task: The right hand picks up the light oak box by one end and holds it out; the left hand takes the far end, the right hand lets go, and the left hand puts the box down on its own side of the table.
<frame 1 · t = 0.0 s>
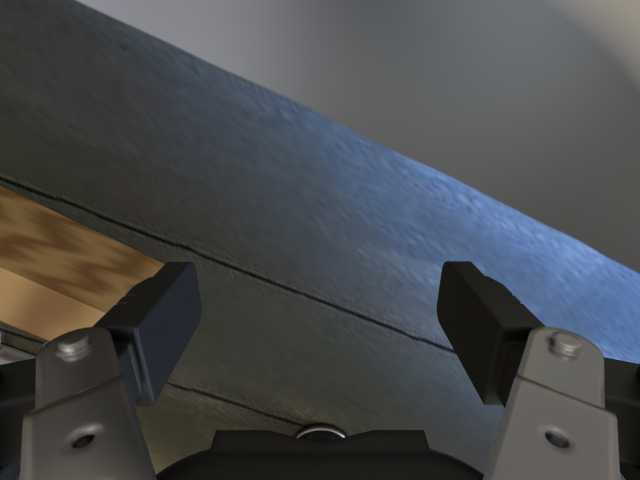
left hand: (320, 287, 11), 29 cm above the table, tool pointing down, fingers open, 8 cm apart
clamp: (26, 355, 48), on the table
box: (69, 241, 42), on the table
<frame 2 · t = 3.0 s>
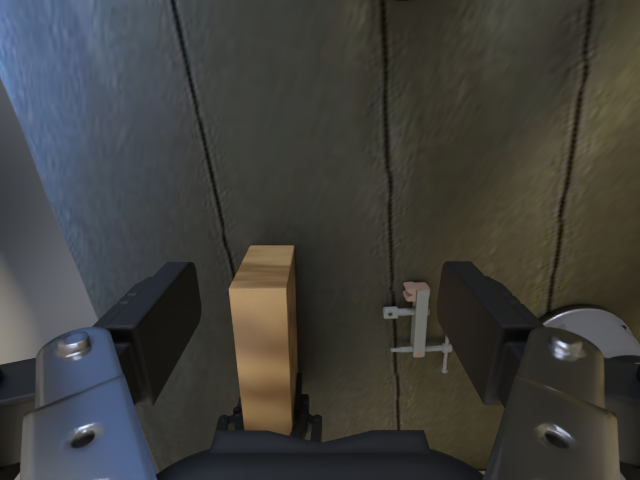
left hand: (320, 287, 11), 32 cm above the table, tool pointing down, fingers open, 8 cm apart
clamp: (415, 325, 50), on the table
box: (276, 322, 50), on the table, touching right hand
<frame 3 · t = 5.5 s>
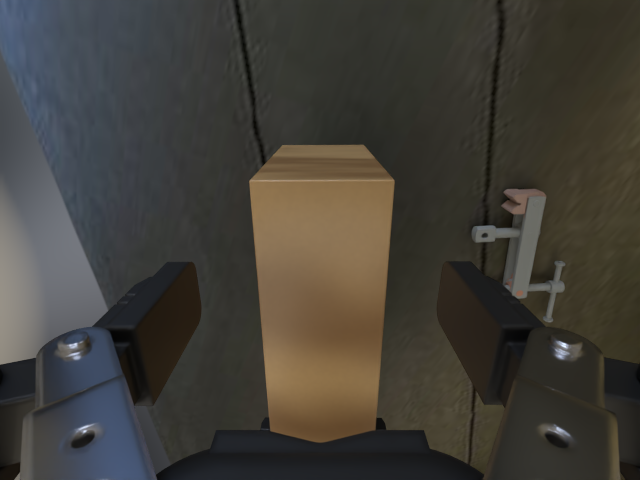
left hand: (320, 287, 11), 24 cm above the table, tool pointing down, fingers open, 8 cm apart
clamp: (512, 256, 37), on the table
box: (323, 292, 29), point 8 cm above the table, touching right hand
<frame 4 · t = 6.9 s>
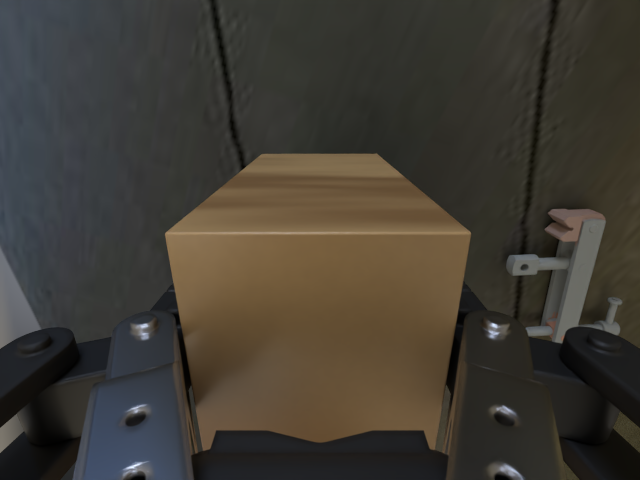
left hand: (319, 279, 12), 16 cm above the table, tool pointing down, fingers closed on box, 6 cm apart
clamp: (554, 290, 30), on the table
box: (319, 349, 22), point 8 cm above the table, touching left hand, right hand
when the right hand's fingers open (10 cm above the table, at t = 7.9 s): box stays where it is, held by the left hand.
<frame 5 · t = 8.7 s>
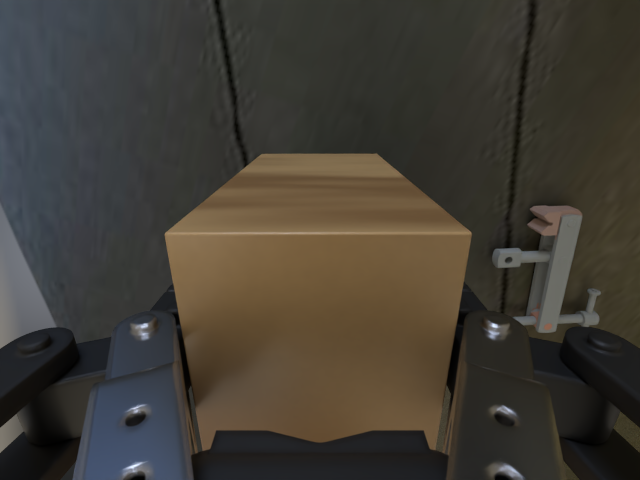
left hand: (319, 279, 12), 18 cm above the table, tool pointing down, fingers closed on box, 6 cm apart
clamp: (537, 282, 32), on the table
box: (319, 350, 22), point 10 cm above the table, touching left hand
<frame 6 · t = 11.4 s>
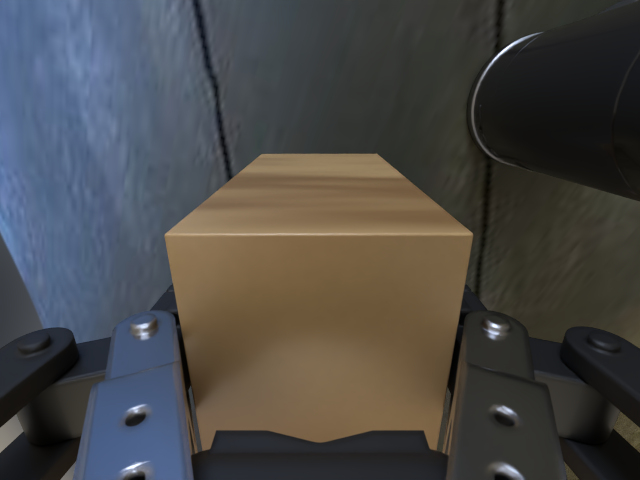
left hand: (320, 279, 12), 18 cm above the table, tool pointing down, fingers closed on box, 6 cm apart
box: (319, 350, 22), point 11 cm above the table, touching left hand
when the left hand's fingers open (9 cm above the table, at t = 16.1 s): box drops 2 cm, on the table.
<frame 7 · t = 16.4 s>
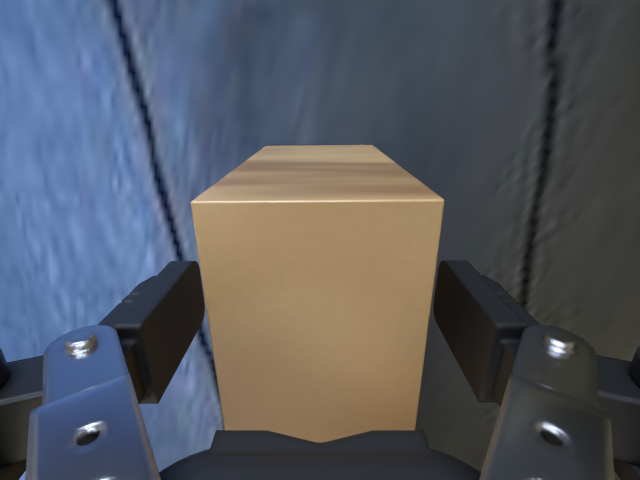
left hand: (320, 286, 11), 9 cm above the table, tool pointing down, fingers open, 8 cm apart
box: (320, 331, 23), on the table
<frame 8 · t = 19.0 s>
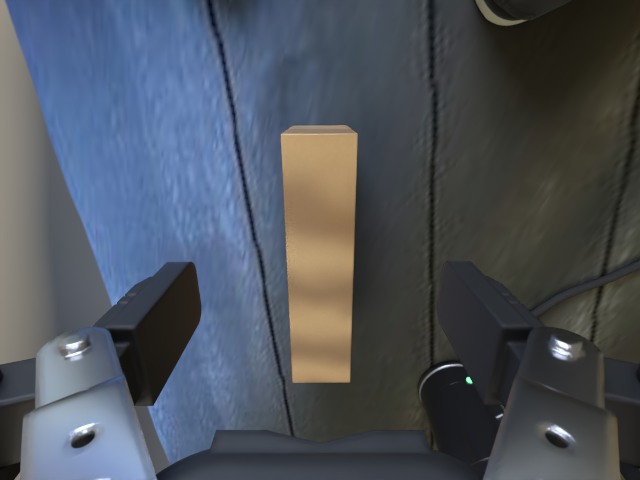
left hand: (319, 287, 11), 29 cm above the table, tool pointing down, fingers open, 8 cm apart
box: (320, 231, 41), on the table
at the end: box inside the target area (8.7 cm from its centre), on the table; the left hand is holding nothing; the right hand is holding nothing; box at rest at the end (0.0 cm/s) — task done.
